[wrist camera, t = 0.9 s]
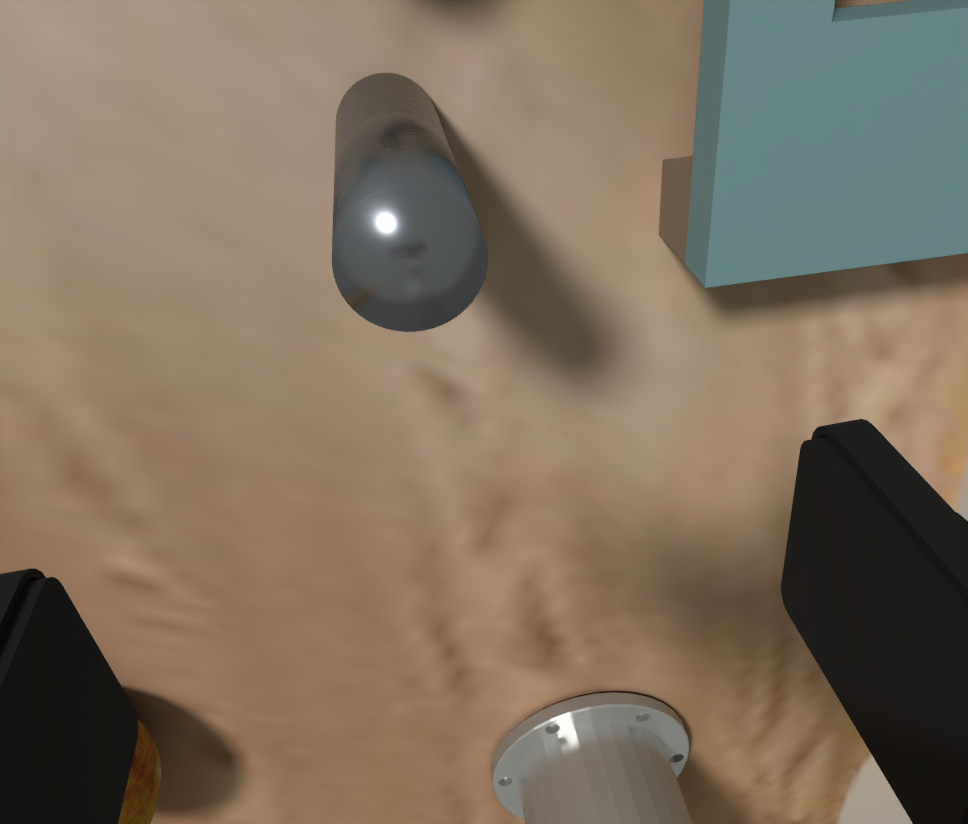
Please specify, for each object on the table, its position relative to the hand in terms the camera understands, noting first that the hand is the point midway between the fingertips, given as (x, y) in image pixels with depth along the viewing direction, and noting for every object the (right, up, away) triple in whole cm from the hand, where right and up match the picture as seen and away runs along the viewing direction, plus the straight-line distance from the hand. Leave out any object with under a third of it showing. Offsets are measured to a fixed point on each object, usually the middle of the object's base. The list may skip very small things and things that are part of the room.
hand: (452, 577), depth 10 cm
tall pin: (-3, +12, +18) cm, 22 cm away
